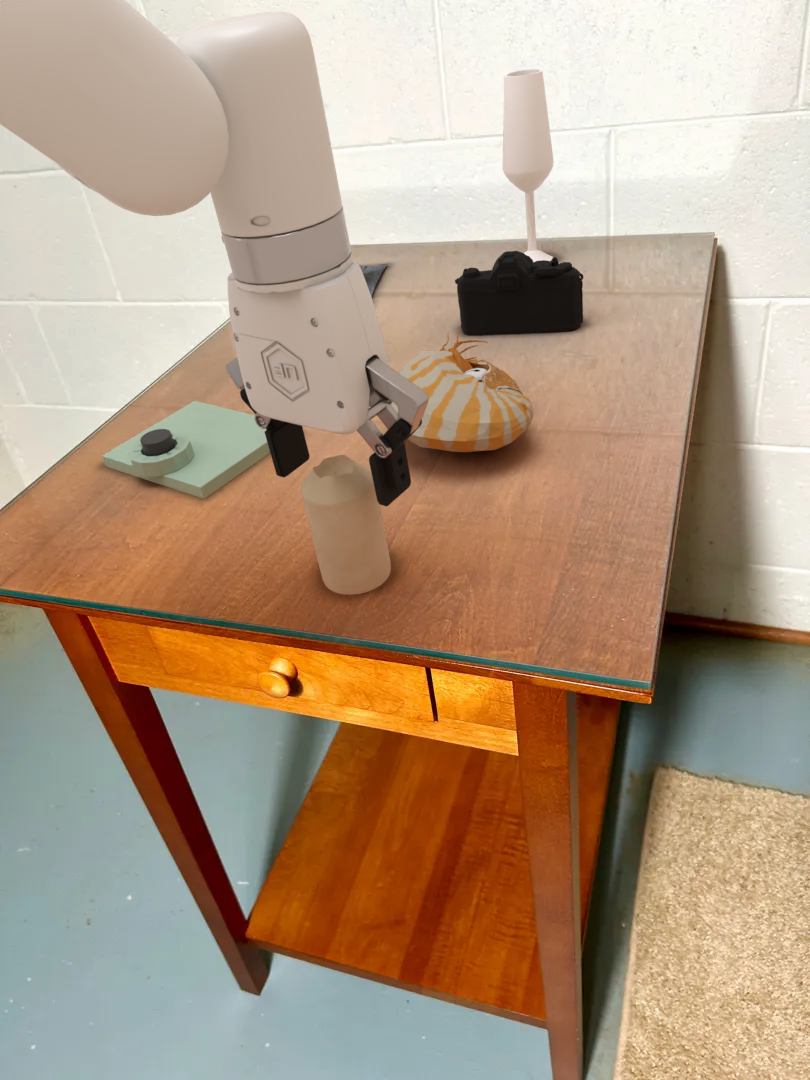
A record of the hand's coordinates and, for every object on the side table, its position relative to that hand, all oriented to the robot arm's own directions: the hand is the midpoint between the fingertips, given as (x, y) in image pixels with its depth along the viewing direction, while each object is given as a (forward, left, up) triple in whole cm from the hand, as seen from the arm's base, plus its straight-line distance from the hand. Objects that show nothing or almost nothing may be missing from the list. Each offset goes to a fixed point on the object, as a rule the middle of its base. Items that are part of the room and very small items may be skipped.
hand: (342, 481), depth 63 cm
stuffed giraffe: (+50, +47, -9) cm, 69 cm away
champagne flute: (+68, +22, -9) cm, 72 cm away
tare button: (+4, +28, -6) cm, 29 cm away
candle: (0, 0, -9) cm, 9 cm away
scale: (+9, +28, -9) cm, 31 cm away
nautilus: (+24, +5, -9) cm, 26 cm away
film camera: (+49, +13, -9) cm, 51 cm away
